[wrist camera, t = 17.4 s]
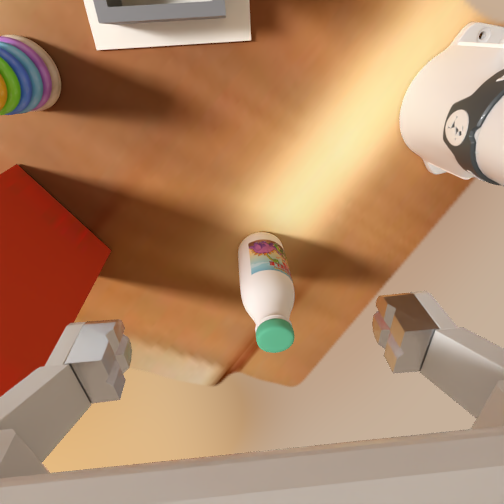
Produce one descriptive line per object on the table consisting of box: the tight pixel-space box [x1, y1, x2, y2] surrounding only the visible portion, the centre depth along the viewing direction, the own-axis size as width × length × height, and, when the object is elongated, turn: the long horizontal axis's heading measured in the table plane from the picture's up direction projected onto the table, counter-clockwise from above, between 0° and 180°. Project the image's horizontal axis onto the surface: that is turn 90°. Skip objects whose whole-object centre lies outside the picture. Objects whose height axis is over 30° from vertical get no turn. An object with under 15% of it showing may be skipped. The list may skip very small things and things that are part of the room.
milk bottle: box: [238, 232, 295, 353], centre depth 48 cm, size 8×8×20 cm
